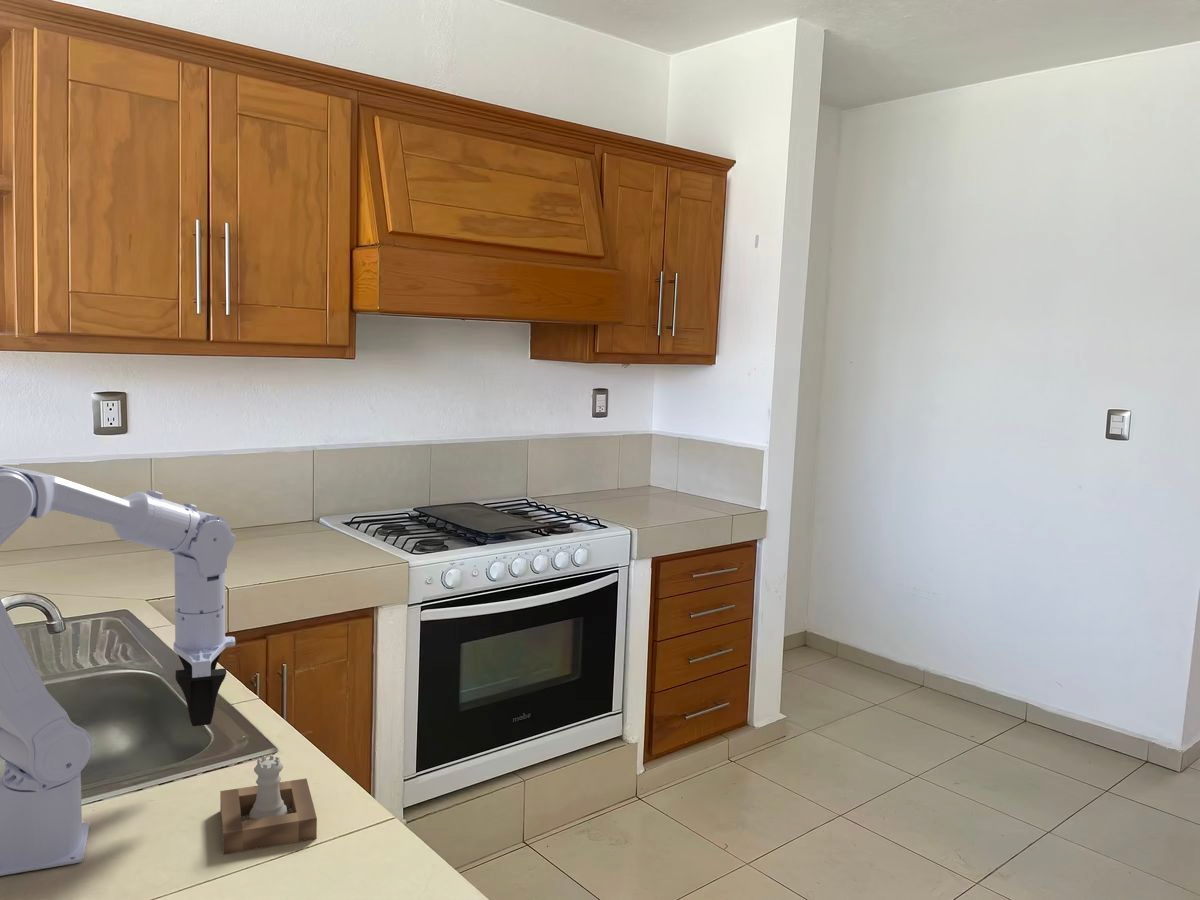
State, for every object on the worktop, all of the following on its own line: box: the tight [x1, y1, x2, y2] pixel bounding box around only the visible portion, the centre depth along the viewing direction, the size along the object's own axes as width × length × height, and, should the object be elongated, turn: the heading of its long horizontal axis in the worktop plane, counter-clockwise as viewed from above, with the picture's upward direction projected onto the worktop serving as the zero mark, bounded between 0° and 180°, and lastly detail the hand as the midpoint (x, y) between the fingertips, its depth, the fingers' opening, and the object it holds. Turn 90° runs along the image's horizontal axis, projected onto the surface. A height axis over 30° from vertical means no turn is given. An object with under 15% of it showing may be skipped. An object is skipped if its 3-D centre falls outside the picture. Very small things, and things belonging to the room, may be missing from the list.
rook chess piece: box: [248, 754, 288, 820], centre depth 109 cm, size 4×4×8 cm
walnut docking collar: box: [219, 778, 318, 855], centre depth 109 cm, size 10×10×2 cm
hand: (200, 711), depth 116 cm, fingers open, 7 cm apart
